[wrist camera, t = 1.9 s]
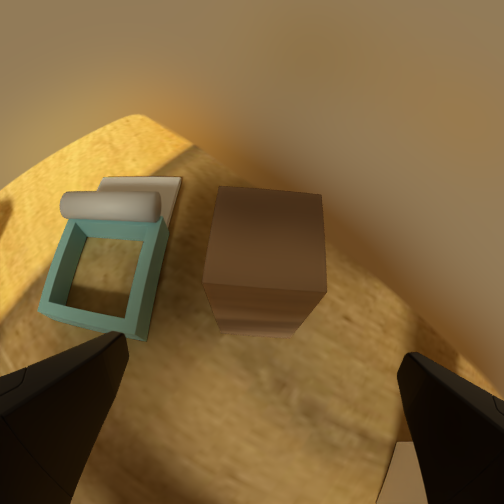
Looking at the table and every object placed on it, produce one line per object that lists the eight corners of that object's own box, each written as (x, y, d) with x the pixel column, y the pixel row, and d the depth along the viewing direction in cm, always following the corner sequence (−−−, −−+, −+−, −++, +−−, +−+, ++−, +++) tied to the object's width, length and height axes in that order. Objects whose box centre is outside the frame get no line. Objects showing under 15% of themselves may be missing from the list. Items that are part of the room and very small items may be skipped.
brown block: (289, 338, 20) (327, 292, 11) (221, 333, 20) (202, 282, 11) (291, 275, 22) (321, 193, 13) (228, 269, 22) (219, 184, 13)
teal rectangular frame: (146, 341, 19) (120, 326, 15) (53, 319, 19) (20, 300, 15) (183, 181, 26) (175, 144, 22) (103, 181, 27) (86, 149, 22)
